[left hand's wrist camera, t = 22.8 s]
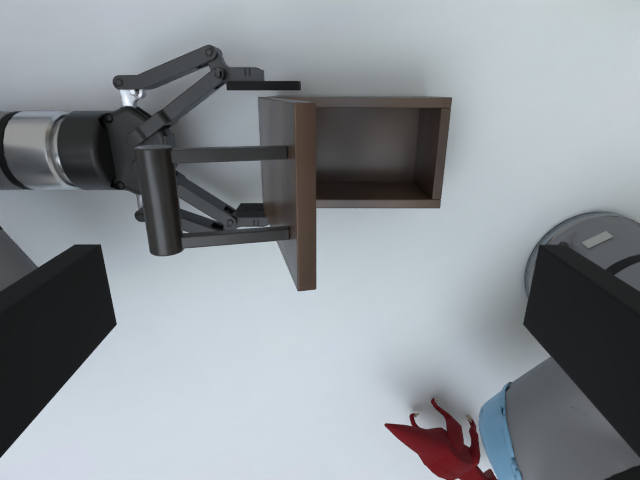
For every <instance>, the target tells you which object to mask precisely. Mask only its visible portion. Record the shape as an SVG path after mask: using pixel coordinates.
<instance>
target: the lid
mask: <svg viewBox="0 0 640 480" xmlns="http://www.w3.org/2000/svg"><path fill="white" fill-rule="evenodd" d="M258 109H259V130H260V146H240V147H205V148H172V146H170V145H143V146H138V147H135V148H134V152H135V158H136V165H137V171H138V178H139V184H140V191H141V197H142V204H143V210H144V217H145V223H146V230H147V236H148V243H149V249H150V253H151V254H152V255H155V256H170V255H175V254H178V253H180V252H182V251H183V250H184V248H195V247H207V246H219V245H232V244H244V243H256V242H268V241H277V243H278V246H279V248H280V250H281V253H282V255H283V257H284V260H285V262H286V264H287V267H288V269H289V272H290V274H291V276H292V279H293V281H294V283H295V286H296V288H297V290H298V291H306V290H315V289H316V103H315V102H308V101H299V100H290V99H282V98H273V97H258ZM257 160H261V172H262V193H263V210H264V212H265V215H266V217H267V220H268V222H269V224H270V227H263V228H250V229H236V230H223V231H209V232H196V233H183V231H182V222H181V214H180V206H179V198H178V190H177V181H176V173H175V165H174V163H202V162H229V161H257Z"/></svg>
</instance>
